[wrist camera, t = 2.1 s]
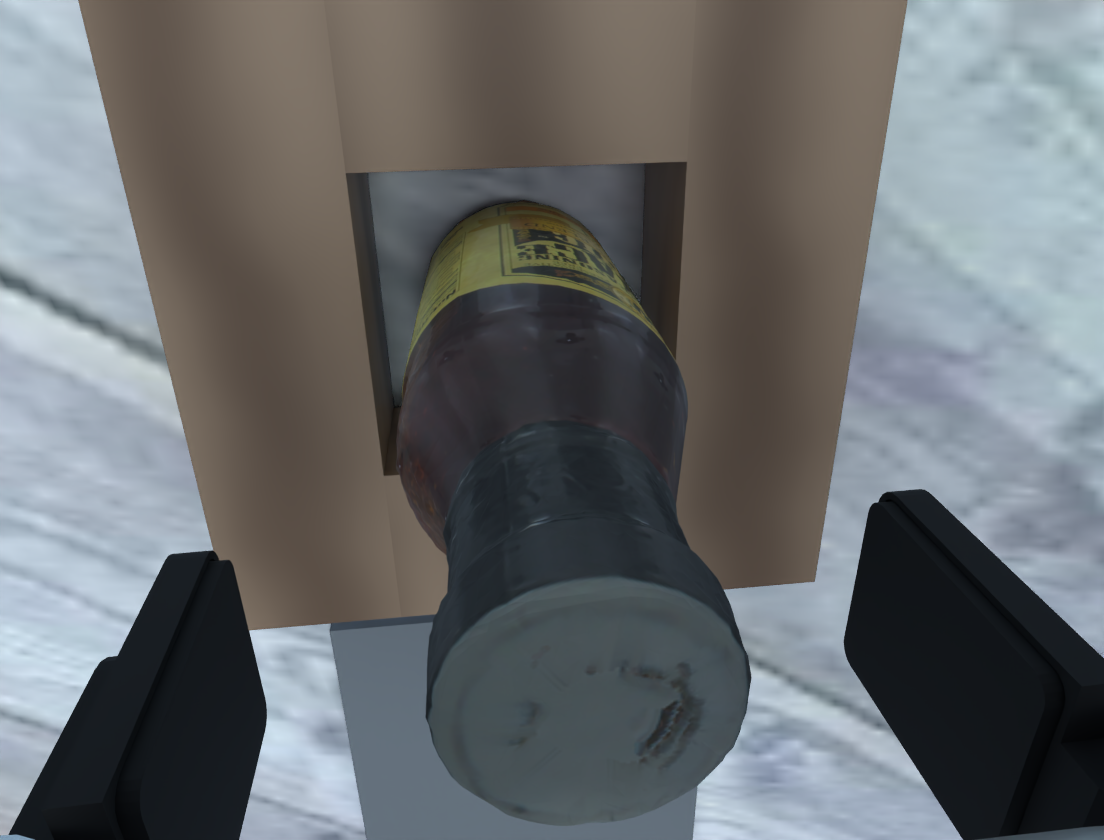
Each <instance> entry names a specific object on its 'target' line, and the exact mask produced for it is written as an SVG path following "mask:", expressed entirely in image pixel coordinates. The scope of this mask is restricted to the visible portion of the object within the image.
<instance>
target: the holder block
mask: <svg viewBox="0 0 1104 840" xmlns="http://www.w3.org/2000/svg"><path fill="white" fill-rule="evenodd" d="M78 1H79V5H80V9H81V13H82V18H83V22H84V26H85V30H86V34H87V38H88V42H89V46H90V50H91V54H92V58H93V62H94V66H95V70H96V75H97V79H98V83H99V87H100V91H101V95H102V99H103V103H104V107H105V111H106V115H107V119H108V123H109V127H110V131H111V136H112V140H113V144H114V148H115V152H116V156H117V160H118V164H119V168H120V172H121V176H122V180H123V184H124V188H125V193H126V197H127V201H128V205H129V209H130V213H131V217H132V221H133V225H134V229H135V233H136V237H137V241H138V245H139V249H140V254H141V258H142V262H143V266H144V270H145V274H146V278H147V282H148V286H149V290H150V294H151V298H152V302H153V306H154V311H155V315H156V319H157V323H158V327H159V331H160V335H161V339H162V343H163V347H164V351H165V355H166V359H167V363H168V367H169V372H170V376H171V380H172V384H173V388H174V392H175V396H176V400H177V404H178V408H179V412H180V416H181V420H182V424H183V429H184V433H185V437H186V441H187V445H188V449H189V453H190V457H191V461H192V465H193V469H194V473H195V477H196V481H197V485H198V490H199V494H200V498H201V502H202V506H203V510H204V514H205V518H206V522H207V526H208V530H209V534H210V538H211V542H212V547H213V551H214V552H216V554H217V555H218V558H219V560H230V561H231V562H232V564H233V567H234V571H235V575H236V579H237V583H238V587H239V591H240V596H241V600H242V604H243V608H244V612H245V617H246V621H247V625H248V629H249V630H258V629H270V628H282V627H293V626H305V625H317V624H328V623H340V622H351V621H363V620H375V619H386V618H398V617H409V616H421V615H433V614H436V613H437V612H438V609H439V606H440V603H441V601H442V599H443V598H444V597H445V595H446V594H447V586H448V571H449V567H448V563H447V556H446V555H445V554H444V553H443V552H442V551H441V550H439V549H438V548H437V547H436V546H435V544H434V542H433V541H432V540H431V538H430V537H429V536H428V534H427V533H426V532H425V531H424V530H423V528H422V527H421V525H420V523H419V522H418V520H417V519H416V516H415V514H414V512H413V510H412V509H411V507H410V505H409V503H408V500H407V497H406V494H405V492H404V489H403V486H402V484H401V479H400V475H399V473H398V471H397V470H396V460H397V444H396V438H397V426H398V422H399V414H400V410H401V407H394V402H393V394H392V385H391V376H390V367H389V359H388V350H387V341H386V332H385V324H384V315H383V306H382V297H381V288H380V280H379V271H378V262H377V253H376V245H375V236H374V227H373V218H372V209H371V201H370V192H369V183H368V174H367V173H368V172H398V171H427V170H456V169H486V168H515V167H544V166H574V165H603V164H632V163H646V165H645V194H644V223H643V252H642V281H641V307H642V308H643V310H644V311H645V313H646V315H647V316H648V318H649V319H650V320H651V322H652V323H653V325H654V327H655V328H656V330H657V331H658V332H659V334H660V335H661V337H662V339H663V340H664V342H665V344H666V346H667V347H668V349H669V350H670V352H671V354H672V356H673V357H674V359H675V361H676V363H677V365H678V367H679V369H680V372H681V374H682V377H683V380H684V383H685V387H686V392H687V399H688V419H687V424H686V432H685V440H684V447H683V455H682V463H681V471H680V479H679V486H678V494H677V501H676V509H677V517H678V523H679V525H680V527H681V528H682V530H683V533H684V535H685V538H686V540H687V543H688V545H689V546H690V549H691V550H692V551H693V552H695V553H696V554H697V555H698V556H699V557H700V558H701V560H702V561H703V562H704V563H705V564H706V565H707V566H708V568H709V569H710V570H711V571H712V572H713V574H714V575H715V576H716V577H717V579H718V580H719V582H720V584H721V586H722V588H723V589H735V588H746V587H758V586H769V585H781V584H793V583H804V582H815V576H816V570H817V564H818V557H819V551H820V545H821V539H822V532H823V526H824V520H825V514H826V507H827V501H828V495H829V489H830V482H831V476H832V470H833V463H834V457H835V451H836V445H837V438H838V432H839V426H840V420H841V413H842V407H843V401H844V395H845V388H846V382H847V376H848V370H849V363H850V357H851V351H852V345H853V338H854V332H855V326H856V320H857V313H858V307H859V301H860V294H861V288H862V282H863V276H864V269H865V263H866V257H867V251H868V244H869V238H870V232H871V226H872V219H873V213H874V207H875V201H876V194H877V188H878V182H879V176H880V169H881V163H882V157H883V151H884V144H885V138H886V132H887V125H888V119H889V113H890V107H891V100H892V94H893V88H894V82H895V75H896V69H897V63H898V57H899V50H900V44H901V38H902V32H903V25H904V19H905V13H906V7H907V0H78Z"/></svg>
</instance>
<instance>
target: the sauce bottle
mask: <svg viewBox="0 0 1104 840" xmlns="http://www.w3.org/2000/svg"><path fill="white" fill-rule="evenodd" d="M687 419H688V399H687V392H686V387H685V383H684V380H683V377H682V374H681V372H680V369H679V367H678V365H677V363H676V361H675V359H674V357H673V356H672V354H671V352H670V350H669V349H668V347H667V346H666V344H665V342H664V340H663V339H662V337H661V335H660V334H659V332H658V331H657V330H656V328H655V327H654V325H653V323H652V322H651V320H650V319H649V318H648V316H647V315H646V313H645V311H644V310H643V308H642V307H641V305H640V303H639V301H638V300H637V298H636V297H635V295H634V294H633V293H632V291H631V289H630V288H629V286H628V285H627V283H626V282H625V279H624V277H622V276H621V275H620V273H619V272H618V270H617V269H616V267H615V266H614V264H613V263H612V261H611V260H610V258H609V257H608V255H607V254H606V252H605V251H604V249H603V248H602V246H601V245H600V243H599V242H598V241H597V240H596V238H595V237H594V236H593V235H592V233H591V232H590V231H589V230H588V229H587V228H585V227H584V226H583V225H582V224H581V223H580V222H579V221H578V220H576V219H574V218H573V217H571V216H570V215H568V214H566V213H564V212H562V211H561V210H558V209H556V208H553V207H550V206H546V205H541V204H539V203H536V202H532V201H526V200H522V201H518V202H516V203H504V204H498V205H494V206H492V207H488V208H485V209H483V210H481V211H479V212H477V213H475V214H473V215H471V216H469V217H468V218H466V219H464V220H462V221H461V222H459V223H458V224H457V225H456V226H455V228H454V229H453V230H452V231H451V232H450V233H449V234H448V235H447V236H446V237H445V238H444V240H443V241H442V242H441V244H440V245H439V247H438V248H437V250H436V251H435V253H434V254H433V256H432V258H431V262H430V265H429V269H428V272H427V276H426V280H425V285H424V289H423V293H422V297H421V302H420V305H419V309H418V313H417V318H416V322H415V327H414V332H413V337H412V341H411V346H410V351H409V355H408V360H407V364H406V369H405V373H404V378H403V385H402V406H401V410H400V414H399V422H398V426H397V438H396V444H397V460H396V470H397V471H398V473H399V475H400V479H401V484H402V486H403V489H404V492H405V494H406V497H407V500H408V503H409V505H410V507H411V509H412V510H413V512H414V514H415V516H416V519H417V520H418V522H419V523H420V525H421V527H422V528H423V530H424V531H425V532H426V533H427V534H428V536H429V537H430V538H431V540H432V541H433V542H434V544H435V546H436V547H437V548H438V549H439V550H441V551H442V552H443V553H444V554H445V555H446V556H447V563H448V567H449V571H448V586H447V594H446V595H445V597H444V598H443V599H442V601H441V603H440V606H439V609H438V612H437V613H436V615H435V617H434V619H433V625H432V630H431V633H430V636H429V646H428V657H427V695H426V716H425V718H426V720H427V722H428V724H429V728H430V733H431V737H432V742H433V745H434V747H435V749H436V751H437V753H438V755H439V758H440V759H441V761H442V762H443V764H444V766H445V767H446V769H447V770H448V772H449V774H450V775H451V777H452V778H453V779H454V780H455V781H456V782H457V783H458V784H459V785H461V786H462V787H463V788H465V789H466V790H468V791H469V792H471V793H472V794H474V795H476V796H477V797H479V798H481V799H482V800H484V801H486V802H488V803H489V804H491V805H492V806H494V807H496V808H497V809H499V810H500V811H502V812H504V813H505V814H507V815H508V816H512V817H515V818H519V819H522V820H526V821H529V822H535V823H541V824H547V825H554V826H574V825H580V824H585V823H605V822H616V821H623V820H626V819H630V818H634V817H637V816H640V815H643V814H645V813H648V812H650V811H653V810H656V809H658V808H660V807H661V806H663V805H665V804H667V803H669V802H671V801H673V800H675V799H677V798H679V797H680V796H682V795H684V794H685V793H687V792H689V791H690V790H692V789H694V788H695V787H696V786H698V785H699V784H700V783H701V782H702V781H703V780H704V779H705V778H706V777H707V776H708V775H709V774H710V773H711V772H712V771H713V770H714V769H715V768H716V767H717V766H718V765H719V764H720V763H721V762H722V761H723V759H724V757H725V755H726V754H727V753H728V752H729V751H730V750H731V749H732V748H733V747H734V744H735V742H736V740H737V737H738V735H739V733H740V729H741V725H742V722H743V719H744V717H745V714H746V710H747V703H748V696H749V689H750V683H751V672H750V666H749V660H748V655H747V653H746V651H745V649H744V647H743V644H742V641H741V637H740V634H739V630H738V627H737V625H736V622H735V619H734V615H733V612H732V609H731V605H730V603H729V601H728V598H727V597H726V595H725V592H724V590H723V588H722V586H721V584H720V582H719V580H718V579H717V577H716V576H715V575H714V574H713V572H712V571H711V570H710V569H709V568H708V566H707V565H706V564H705V563H704V562H703V561H702V560H701V558H700V557H699V556H698V555H697V554H696V553H695V552H693V551H692V550H691V549H690V546H689V545H688V543H687V540H686V538H685V535H684V533H683V530H682V528H681V527H680V525H679V523H678V517H677V509H676V501H677V494H678V486H679V479H680V471H681V463H682V455H683V447H684V440H685V432H686V424H687Z"/></svg>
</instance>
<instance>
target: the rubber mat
mask: <svg viewBox="0 0 1104 840" xmlns="http://www.w3.org/2000/svg"><path fill="white" fill-rule="evenodd" d="M435 615H436V614H433V615H421V616H409V617H398V618H386V619H375V620H363V621H351V622H340V623H331V628H330V635H331V641H332V646H333V652H334V658H335V663H336V669H337V674H338V680H339V686H340V691H341V697H342V703H343V708H344V714H345V720H346V725H347V731H348V736H349V742H350V748H351V753H352V759H353V765H354V770H355V776H356V782H357V787H358V793H359V798H360V804H361V810H362V815H363V821H364V827H365V832H366V838H367V840H692V839H693V828H694V817H695V806H696V795H697V786H696V787H695V788H694V789H692V790H690V791H689V792H687V793H685V794H684V795H682V796H680V797H679V798H677V799H675V800H673V801H671V802H669V803H667V804H665V805H663V806H661V807H660V808H658V809H656V810H653V811H650V812H648V813H645V814H643V815H640V816H637V817H634V818H630V819H626V820H623V821H616V822H605V823H585V824H580V825H574V826H554V825H547V824H541V823H535V822H529V821H526V820H522V819H519V818H515V817H512V816H508V815H507V814H505V813H504V812H502V811H500V810H499V809H497V808H496V807H494V806H492V805H491V804H489V803H488V802H486V801H484V800H482V799H481V798H479V797H477V796H476V795H474V794H472V793H471V792H469V791H468V790H466V789H465V788H463V787H462V786H461V785H459V784H458V783H457V782H456V781H455V780H454V779H453V778H452V777H451V775H450V774H449V772H448V770H447V769H446V767H445V766H444V764H443V762H442V761H441V759H440V758H439V755H438V753H437V751H436V749H435V747H434V745H433V742H432V737H431V733H430V728H429V724H428V722H427V720H426V718H425V716H426V695H427V657H428V646H429V636H430V633H431V630H432V625H433V619H434V617H435Z"/></svg>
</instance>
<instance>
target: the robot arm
mask: <svg viewBox="0 0 1104 840" xmlns="http://www.w3.org/2000/svg"><path fill="white" fill-rule="evenodd" d="M844 649H845V654H846V657H847V660H848V662H849V664H850V666H851V667H852V669H853V670H854V672H855V673H856V675H857V676H858V678H859V679H860V681H861V683H862V684H863V686H864V687H865V689H866V690H867V692H868V693H869V695H870V697H871V698H872V700H873V701H874V703H875V704H876V706H877V707H878V709H879V710H880V712H881V714H882V715H883V717H884V718H885V720H886V721H887V723H888V724H889V726H890V727H891V729H892V731H893V732H894V734H895V735H896V737H897V738H898V740H899V741H900V743H901V744H902V746H903V748H904V749H905V751H906V752H907V754H908V755H909V757H910V758H911V760H912V761H913V763H914V765H915V766H916V768H917V769H918V771H919V772H920V774H921V775H922V777H923V778H924V780H925V782H926V783H927V785H928V786H929V788H930V789H931V791H932V792H933V794H934V795H935V797H936V799H937V800H938V802H939V803H940V805H941V806H942V808H943V809H944V811H945V812H946V814H947V816H948V817H949V819H950V820H951V822H952V823H953V825H954V826H955V828H956V830H957V831H958V833H959V834H960V836H961V837H962V839H963V840H1104V658H1103V657H1102V656H1101V655H1100V654H1099V653H1097V652H1096V651H1095V650H1094V649H1093V648H1092V647H1091V646H1090V645H1089V644H1088V643H1087V642H1086V641H1085V640H1084V639H1083V638H1082V637H1081V636H1080V635H1079V634H1078V633H1076V632H1075V631H1074V630H1073V629H1072V628H1071V627H1070V626H1069V625H1068V624H1067V623H1066V622H1065V621H1064V620H1063V619H1062V618H1061V617H1060V616H1059V615H1058V614H1056V613H1055V612H1054V611H1053V610H1052V609H1051V608H1050V607H1049V606H1048V605H1047V604H1046V603H1045V602H1044V601H1043V600H1042V599H1041V598H1040V597H1039V596H1038V595H1036V594H1035V593H1034V592H1033V591H1032V590H1031V589H1030V588H1029V587H1028V586H1027V585H1026V584H1025V583H1024V582H1023V581H1022V580H1021V579H1020V578H1019V577H1018V576H1017V575H1015V574H1014V573H1013V572H1012V571H1011V570H1010V569H1009V568H1008V567H1007V566H1006V565H1005V564H1004V563H1003V562H1002V561H1001V560H1000V559H999V558H998V557H997V556H995V555H994V554H993V553H992V552H991V551H990V550H989V549H988V548H987V547H986V546H985V545H984V544H983V543H982V542H981V541H980V540H979V539H978V538H977V537H976V536H974V535H973V534H972V533H971V532H970V531H969V530H968V529H967V528H966V527H965V526H964V525H963V524H962V523H961V522H960V521H959V520H958V519H957V518H956V517H954V516H953V515H952V514H951V513H950V512H949V511H948V510H947V509H946V508H945V507H944V506H943V505H942V504H941V503H940V502H939V501H938V500H937V499H936V498H934V497H933V496H932V495H931V494H930V493H929V492H927V491H926V490H922V489H917V490H906V491H894V492H886V493H884V494H883V495H882V496H881V498H880V499H879V502H878V503H874V504H872V506H871V507H870V509H869V513H868V518H867V523H866V528H865V533H864V538H863V544H862V549H861V554H860V559H859V564H858V569H857V575H856V580H855V585H854V590H853V595H852V600H851V606H850V611H849V616H848V621H847V626H846V631H845V636H844ZM266 719H267V709H266V701H265V696H264V692H263V688H262V684H261V679H260V675H259V671H258V667H257V663H256V658H255V654H254V650H253V646H252V642H251V637H250V633H249V629H248V625H247V621H246V617H245V612H244V608H243V604H242V600H241V596H240V591H239V587H238V583H237V579H236V575H235V571H234V567H233V564H232V562H231V561H230V560H219V558H218V555H217V554H216V552H214V551H202V552H190V553H179V554H171V555H169V556H168V557H167V559H166V560H165V562H164V564H163V566H162V568H161V570H160V572H159V574H158V576H157V578H156V580H155V582H154V584H153V586H152V588H151V590H150V592H149V594H148V596H147V598H146V600H145V602H144V604H143V606H142V608H141V610H140V612H139V614H138V616H137V618H136V620H135V622H134V624H133V626H132V628H131V630H130V632H129V634H128V636H127V638H126V640H125V642H124V644H123V646H122V648H121V650H120V652H119V654H118V656H114V657H107V658H106V659H104V660H102V661H101V662H100V663H99V665H98V666H97V668H96V669H95V671H94V672H93V674H92V676H91V678H90V680H89V682H88V684H87V686H86V688H85V690H84V692H83V693H82V695H81V697H80V699H79V701H78V703H77V705H76V707H75V709H74V711H73V713H72V714H71V716H70V718H69V720H68V722H67V724H66V726H65V728H64V730H63V732H62V734H61V735H60V737H59V739H58V741H57V743H56V745H55V747H54V749H53V751H52V753H51V755H50V756H49V758H48V760H47V762H46V764H45V766H44V768H43V770H42V772H41V774H40V776H39V777H38V779H37V781H36V783H35V785H34V787H33V789H32V791H31V793H30V795H29V797H28V798H27V800H26V802H25V804H24V806H23V808H22V810H21V812H20V814H19V816H18V818H17V819H16V821H15V823H14V825H13V827H12V829H11V831H10V833H9V835H1V836H0V840H239V837H240V833H241V829H242V825H243V821H244V816H245V812H246V808H247V804H248V800H249V795H250V791H251V787H252V783H253V779H254V775H255V770H256V766H257V762H258V758H259V754H260V749H261V745H262V741H263V737H264V733H265V728H266Z"/></svg>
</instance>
